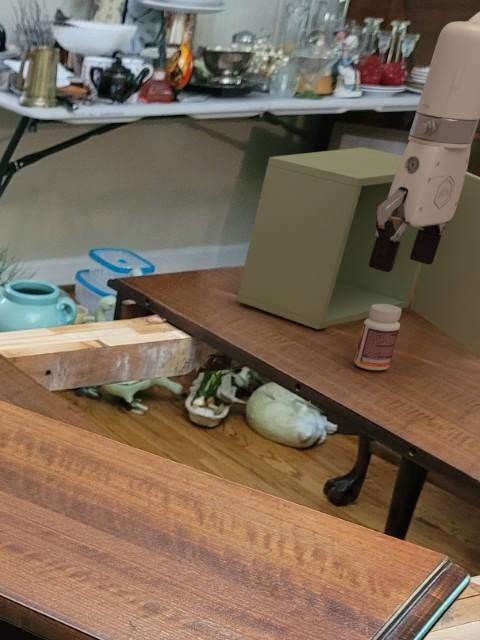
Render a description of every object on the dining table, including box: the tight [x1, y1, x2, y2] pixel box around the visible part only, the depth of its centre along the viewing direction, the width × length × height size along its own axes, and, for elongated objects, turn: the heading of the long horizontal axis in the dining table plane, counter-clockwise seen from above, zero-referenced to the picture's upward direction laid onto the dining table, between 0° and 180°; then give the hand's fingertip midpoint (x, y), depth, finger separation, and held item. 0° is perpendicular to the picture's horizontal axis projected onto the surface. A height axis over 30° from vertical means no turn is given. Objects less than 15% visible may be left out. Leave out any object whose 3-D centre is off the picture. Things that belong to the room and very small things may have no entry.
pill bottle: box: [353, 304, 403, 371], centre depth 155 cm, size 5×5×8 cm
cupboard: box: [236, 146, 423, 330], centre depth 176 cm, size 16×24×22 cm, turn 125°
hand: (400, 265), depth 150 cm, fingers open, 9 cm apart
